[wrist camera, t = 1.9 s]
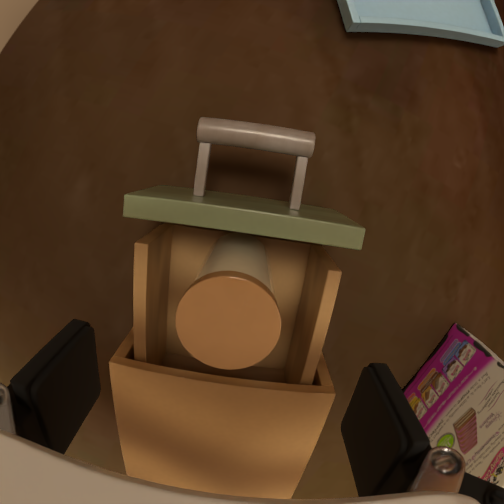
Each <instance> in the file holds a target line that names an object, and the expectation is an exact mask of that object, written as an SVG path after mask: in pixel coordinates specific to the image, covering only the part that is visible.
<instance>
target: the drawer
mask: <svg viewBox="0 0 504 504" xmlns="http://www.w3.org/2000/svg"><path fill="white" fill-rule="evenodd" d="M196 137H197V142H200V145H199V152H198V160H197V167H196V175H195V183H194V189H193V188H184V187H176V186H167V185H159V186H155V187H151V188H147V189H143V190H139V191H135V192H132V193H128V194H125V195H124V208H123V216H124V217H129V218H137V219H145V220H152V221H160V222H164V223H163V224H161V225H160V226H158V227H157V228H155V229H154V230H152V231H151V232H149V233H148V234H147V235H145V236H144V237H142V238H141V239H139V240H138V241H136V242H135V248H134V278H133V331H134V360H136V361H140V362H145V363H150V364H155V365H160V366H165V367H170V368H175V369H181V370H186V371H192V372H198V373H204V374H211V375H218V376H225V377H232V378H240V379H248V380H257V381H266V382H276V383H287V384H300V385H312V382H313V379H314V375H315V372H316V369H317V365H318V362H319V359H320V355H321V352H322V348H323V345H324V341H325V337H326V334H327V330H328V326H329V323H330V319H331V315H332V311H333V307H334V303H335V299H336V295H337V291H338V287H339V283H340V279H341V274H342V271H341V270H340V269H339V268H338V266H337V265H336V264H335V262H334V261H333V260H332V259H331V257H330V256H329V255H328V253H327V252H326V251H325V250H324V248H323V247H322V245H329V246H335V247H342V248H348V249H355V250H361V248H362V243H363V239H364V234H365V228H364V227H362V226H361V225H359V224H357V223H356V222H354V221H352V220H351V219H349V218H348V217H346V216H344V215H343V214H341V213H339V212H338V211H336V210H334V209H329V208H323V207H317V206H311V205H305V204H301V198H302V192H303V186H304V180H305V174H306V167H307V161H308V158H311V156H312V154H313V151H314V147H315V133H312V132H307V131H302V130H296V129H290V128H284V127H278V126H272V125H265V124H258V123H251V122H244V121H236V120H227V119H218V118H208V117H201V118H200V119H199V122H198V126H197V134H196ZM211 144H218V145H227V146H235V147H242V148H250V149H257V150H264V151H270V152H277V153H283V154H289V155H295V156H297V157H296V163H295V169H294V176H293V182H292V188H291V194H290V201H289V202H286V201H280V200H274V199H267V198H260V197H253V196H246V195H239V194H232V193H224V192H217V191H209V190H205V189H206V181H207V173H208V166H209V158H210V151H211ZM230 233H245V234H248V235H251V236H253V237H255V238H256V239H258V240H259V241H260V242H261V243H262V244H263V245H264V246H265V248H266V249H267V251H268V254H269V257H270V263H271V270H272V276H273V283H274V290H275V297H276V300H277V303H278V306H279V309H280V315H281V334H280V337H279V340H278V342H277V344H276V346H275V347H274V349H273V350H272V351H271V353H270V354H269V355H268V356H267V357H265V358H264V359H263V360H261V361H260V362H258V363H256V364H254V365H252V366H249V367H246V368H242V369H232V370H228V369H220V368H215V367H212V366H209V365H207V364H204V363H202V362H201V361H199V360H197V359H196V358H195V357H193V356H192V355H191V354H190V353H189V352H188V351H187V350H186V349H185V347H184V346H183V344H182V343H181V341H180V339H179V337H178V334H177V331H176V325H175V315H176V310H177V306H178V304H179V302H180V300H181V298H182V296H183V294H184V293H185V291H186V290H187V288H188V287H189V286H190V285H191V283H192V281H193V280H194V278H195V276H196V274H197V272H198V270H199V268H200V266H201V264H202V262H203V260H204V258H205V256H206V255H207V253H208V251H209V249H210V247H211V246H212V244H213V243H214V242H215V241H216V240H217V239H219V238H220V237H222V236H224V235H227V234H230ZM321 244H322V245H321Z"/></svg>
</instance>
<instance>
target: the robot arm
mask: <svg viewBox="0 0 504 504" xmlns="http://www.w3.org/2000/svg"><path fill="white" fill-rule="evenodd" d="M10 382H11V384H10V385H9V386H8V387H6V386H5V385H4V384H2V383H0V504H504V488H502V487H500V486H498V485H495V484H493V483H490V482H488V481H485V480H483V479H481V478H478V477H476V476H474V475H471V474H469V473H467V472H465V469H466V463H465V460H464V458H463V456H462V455H461V454H460V453H459V452H458V451H457V450H455V449H453V448H450V447H447V446H437V447H434V448H432V447H431V445H430V440H429V438H428V436H427V434H426V432H425V431H424V429H423V427H422V425H421V423H420V421H419V420H418V418H417V416H416V414H415V412H414V411H413V409H412V407H411V405H410V404H409V402H408V400H407V398H406V397H405V395H404V393H403V391H402V390H401V388H400V386H399V384H398V383H397V381H396V379H395V378H394V376H393V374H392V373H391V371H390V369H389V367H388V366H387V365H386V364H383V363H370V364H369V365H368V367H364V368H363V370H362V373H361V375H360V378H359V381H358V383H357V386H356V389H355V391H354V394H353V396H352V399H351V401H350V404H349V406H348V408H347V411H346V413H345V416H344V418H343V420H342V423H341V432H342V436H343V439H344V443H345V446H346V450H347V454H348V457H349V461H350V465H351V468H352V472H353V476H354V480H355V483H356V487H357V491H358V495H359V497H353V498H335V499H272V498H256V497H243V496H233V495H224V494H216V493H209V492H202V491H196V490H190V489H184V488H179V487H174V486H169V485H164V484H160V483H155V482H151V481H147V480H143V479H139V478H135V477H131V476H127V475H124V474H120V473H117V472H113V471H110V470H107V469H104V468H101V467H97V466H94V465H91V464H89V463H86V462H83V461H80V460H77V459H75V458H72V457H69V456H66V455H64V453H65V452H66V450H67V448H68V447H69V445H70V443H71V441H72V440H73V438H74V436H75V435H76V433H77V431H78V430H79V428H80V426H81V425H82V423H83V421H84V420H85V418H86V416H87V415H88V413H89V411H90V410H91V408H92V407H93V405H94V403H95V402H96V400H97V398H98V397H99V395H100V390H101V387H100V379H99V372H98V363H97V354H96V344H95V333H94V329H93V328H92V327H90V324H89V323H88V322H85V321H81V320H77V319H73V320H72V321H71V322H70V323H68V324H67V325H66V326H65V327H64V328H63V329H62V330H61V331H60V332H59V333H58V334H57V335H56V336H55V337H54V338H53V339H51V340H50V341H49V342H48V343H47V344H46V345H45V346H44V347H43V348H42V349H41V350H40V351H39V352H38V353H37V354H36V355H35V356H34V357H33V358H32V359H31V360H30V361H29V362H28V363H27V364H26V365H25V366H24V367H23V368H22V369H21V370H20V371H19V372H18V373H17V374H16V375H15V376H14V377H13V378H12V379H11V380H10Z"/></svg>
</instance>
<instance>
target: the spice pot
mask: <svg viewBox="0 0 504 504" xmlns="http://www.w3.org/2000/svg"><path fill="white" fill-rule="evenodd" d="M175 325H176V331H177V334H178V337H179V339H180V341H181V343H182V344H183V346H184V347H185V349H186V350H187V351H188V352H189V353H190V354H191V355H192V356H193V357H195V358H196V359H197V360H199V361H201V362H202V363H204V364H207V365H209V366H212V367H215V368H220V369H228V370H232V369H242V368H246V367H249V366H252V365H254V364H256V363H258V362H260V361H261V360H263V359H264V358H265V357H267V356H268V355H269V354H270V353H271V351H272V350H273V349H274V347H275V346H276V344H277V342H278V340H279V337H280V334H281V315H280V309H279V306H278V303H277V300H276V297H275V290H274V283H273V276H272V270H271V263H270V257H269V254H268V251H267V249H266V248H265V246H264V245H263V244H262V243H261V242H260V241H259V240H258V239H256V238H255V237H253V236H251V235H248V234H245V233H230V234H227V235H224V236H222V237H220V238H219V239H217V240H216V241H215V242H214V243H213V244H212V246H211V247H210V249H209V251H208V253H207V255H206V256H205V258H204V260H203V262H202V264H201V266H200V268H199V270H198V272H197V274H196V276H195V278H194V280H193V281H192V283H191V285H190V286H189V287H188V288H187V290H186V291H185V293H184V294H183V296H182V298H181V300H180V302H179V304H178V306H177V310H176V315H175Z"/></svg>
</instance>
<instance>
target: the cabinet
mask: <svg viewBox="0 0 504 504" xmlns="http://www.w3.org/2000/svg"><path fill="white" fill-rule="evenodd" d="M109 368H110V378H111V386H112V394H113V401H114V408H115V415H116V421H117V427H118V433H119V438H120V444H121V449H122V454H123V459H124V463H125V468H126V472H127V476H131V477H135V478H139V479H143V480H147V481H151V482H155V483H160V484H164V485H169V486H174V487H179V488H184V489H190V490H196V491H202V492H209V493H216V494H224V495H233V496H243V497H256V498H272V499H291V497H292V495H293V493H294V491H295V489H296V487H297V485H298V483H299V481H300V478H301V476H302V474H303V472H304V470H305V468H306V465H307V463H308V461H309V459H310V457H311V454H312V452H313V450H314V447H315V445H316V443H317V440H318V438H319V436H320V433H321V431H322V428H323V426H324V423H325V421H326V418H327V416H328V413H329V411H330V408H331V406H332V403H333V400H334V398H335V395H336V393H335V390H334V387H333V383H332V380H331V377H330V374H329V371H328V368H327V365H326V362H325V359H324V356H323V353H322V352H321V355H320V359H319V362H318V365H317V369H316V372H315V375H314V379H313V382H312V385H300V384H287V383H276V382H266V381H257V380H248V379H240V378H232V377H225V376H218V375H211V374H204V373H198V372H192V371H186V370H181V369H175V368H170V367H165V366H160V365H155V364H150V363H145V362H140V361H136V360H134V331H133V327H132V329H131V330H130V332H129V333H128V335H127V336H126V337H125V339H124V340H123V342H122V343H121V345H120V346H119V348H118V349H117V351H116V352H115V354H114V356H112V358H111V359H110V361H109Z"/></svg>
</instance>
